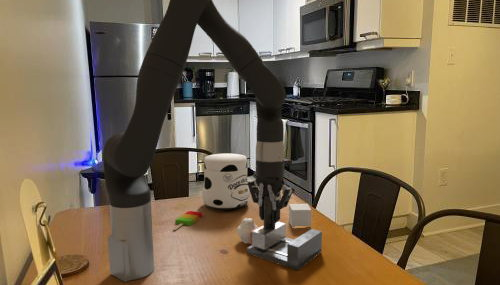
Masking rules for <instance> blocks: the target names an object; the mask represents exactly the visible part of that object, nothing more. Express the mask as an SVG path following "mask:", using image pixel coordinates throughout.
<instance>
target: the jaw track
mask: <svg viewBox="0 0 500 285" xmlns="http://www.w3.org/2000/svg"><path fill="white" fill-rule="evenodd" d="M322 241H323V231H322V230H318V229H315V228H310V229H309V230H307V231H306V232H304V233H303V234H301V235H299V236H298V237H296V238H294V239H293V238H290V237H285V238H284V239H282V240H280V241H279V242H277V243H275V244H273V245H272V246H270V247H268V248H267V249H265V250H264V249H261V248H258V247H255V246H252V245H251V244H250V246H248V247H246V253H247V254H248V253H249V255H251V254H252V255H251V256H254V255H255V257H257V256H258V257H257V258H260V257H261V258H260V259H263V258H264V259H263V260H265V259H267V260H266V261H268V260H270V261H269V262H271V261H273V262H272V263H274V262H275V264H277V263H279V264H278V265H280V264H281V265H280V266H283V265H284V266H283V267H286V266H287V267H286V268H288V267H290V268H289V269H291V268H292V269H291V270H294V269H295V271H299V270H301V269H302V268H304V267H305V266H306V265H307V264H309V263H310V262H311V261H312V260H311V259H313V258H314V257H315V256H316V255H318V254H319V253H320V252H321V253H322V247H323V246H322ZM319 255H320V254H319ZM319 255H318V256H319ZM315 258H316V257H315ZM315 258H314V259H315ZM314 259H313V260H314ZM310 260H311V261H310ZM309 261H310V262H309ZM308 262H309V263H308ZM306 263H307V264H306ZM305 264H306V265H305ZM304 265H305V266H304ZM300 268H301V269H300Z"/></svg>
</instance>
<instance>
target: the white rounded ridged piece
mask: <svg viewBox="0 0 500 285" xmlns="http://www.w3.org/2000/svg"><path fill="white" fill-rule="evenodd" d="M258 227H259V226H258V225H257V224H256V223H255V221H254V219H253V218H251V217H245V218H243V219H242V220H241V223H240V224H239V225H238V226H237V228H236V231H237V232H236V233H237V234H238V236H239V238H240V240H241V241H242V243H243V242H244V244H246V243H249V244H251V238H250V231H252V230H254V229H256V228H258Z"/></svg>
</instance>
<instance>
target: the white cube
mask: <svg viewBox="0 0 500 285" xmlns="http://www.w3.org/2000/svg"><path fill="white" fill-rule="evenodd" d="M289 221H290V223H289V225H290V224H291V226H292V227H295V226H311V227H312V208H311V207H310V205H309V204H308V203H288V222H289ZM291 226H290V227H291Z"/></svg>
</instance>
